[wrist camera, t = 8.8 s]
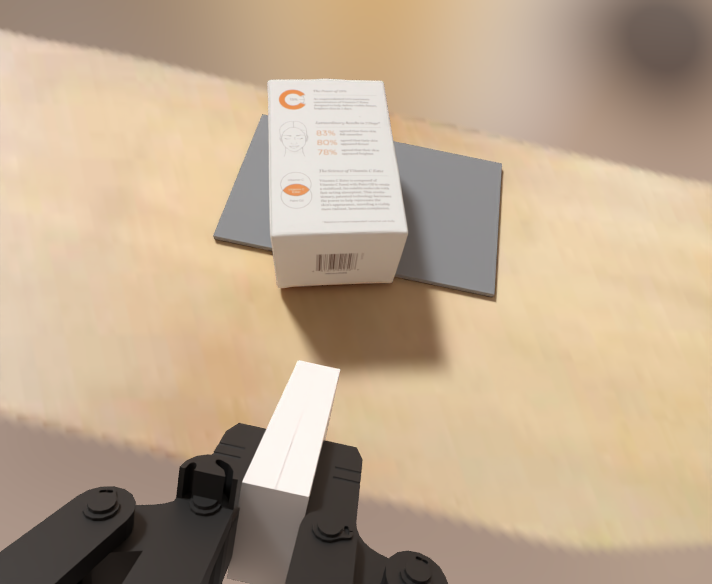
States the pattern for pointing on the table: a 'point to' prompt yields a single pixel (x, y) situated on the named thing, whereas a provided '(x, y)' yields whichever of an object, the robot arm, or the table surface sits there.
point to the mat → (422, 209)
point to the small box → (333, 183)
